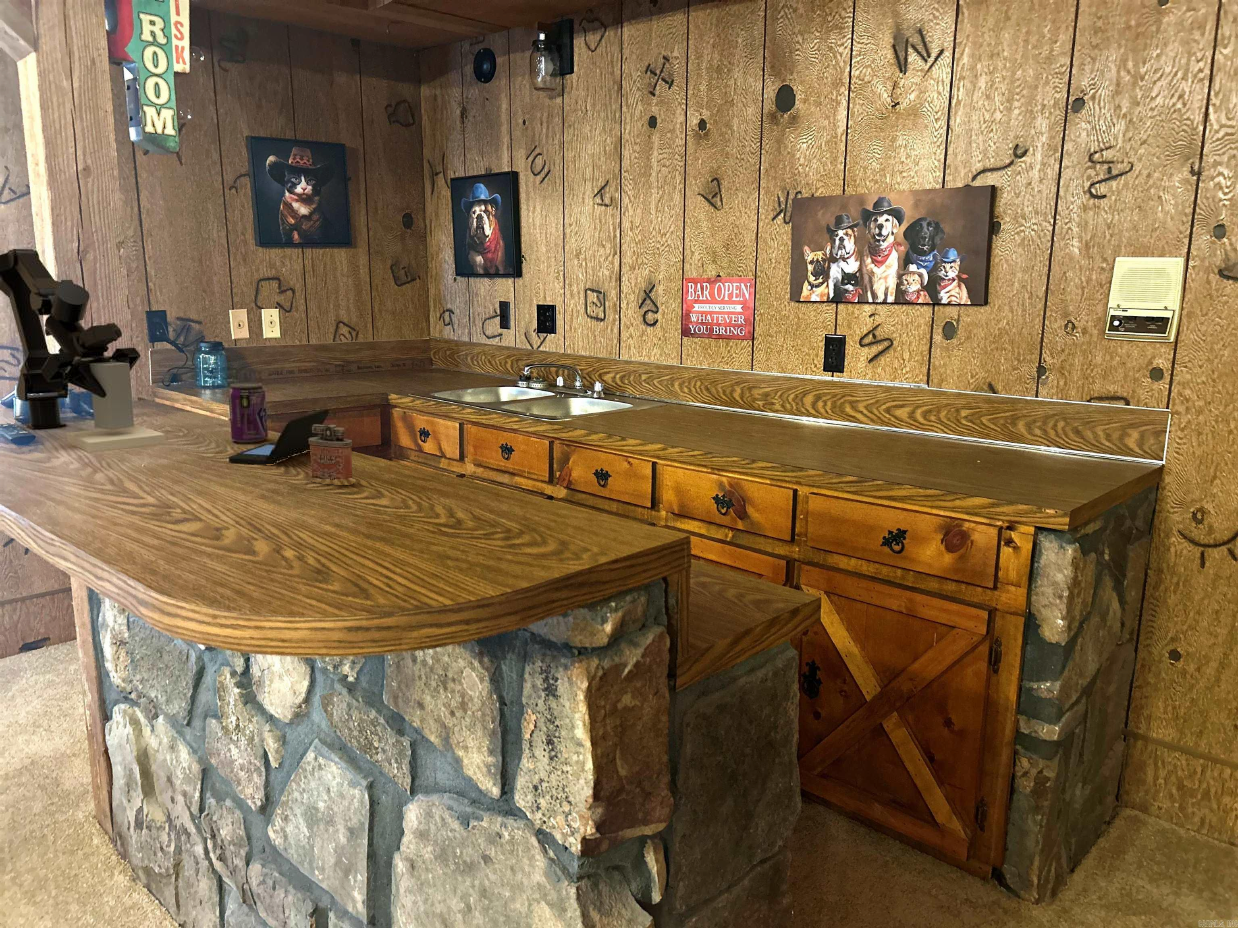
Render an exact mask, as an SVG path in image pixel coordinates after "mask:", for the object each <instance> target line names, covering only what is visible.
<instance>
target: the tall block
mask: <svg viewBox="0 0 1238 928" xmlns="http://www.w3.org/2000/svg"><path fill="white" fill-rule="evenodd" d="M90 369H91V372H92V374H93V375H94V376H95V378H96V379H97V381H98V382H99V383H100V385H101V386H102V388H103V389H104V391H105V393H106V397H105V398H101V397H99V396H97V395H95V394H93V393H91V397H92V398H91V399H92V409H93V410H92V411H93V423H94V428H95V429H108V430H116V429H122V428H129V427H134V426H135V420H134V419H135V418H134V409H133V408H134V406H133V395H132V392H133V391H132V382H131V379H132V378H131V371H130V365H129V363H120V362H102V363H90Z"/></svg>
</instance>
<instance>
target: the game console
mask: <svg viewBox="0 0 1238 928" xmlns="http://www.w3.org/2000/svg"><path fill="white" fill-rule="evenodd" d="M329 414H330V410H329V408H326V409H322V410H319V411H315V412H312V413H309V414H306V415H304V416H299V417H296V418H293V419H291V420H289V421H288V422H287V423H286V424H285V426H284V428H282V431H281V433H280V435H279V437H278V438H277V439H276V442H268V443H266V444H265V443H263V444H261V445H258V446H255V447H253V448H248V449H247V450H243V451H240V452H238V453H235V454H233V455H230V456H228V462H229V463H230V462H231V463H230V464H238V463H246V464H245V465H249V464H248V463H251V464H250V465H254V464H274V463H276V462H277V461H280V460H283V459H286V458H288V456H291V455H294V454H298V453H302V452H304V451H306V450H310V444H309V438H314V437H317V435H318V433H314V432H312V426H313V425H324V423H325V421H326V419H327V418H328V416H329ZM288 459H289V458H288Z"/></svg>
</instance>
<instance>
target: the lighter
mask: <svg viewBox="0 0 1238 928" xmlns="http://www.w3.org/2000/svg"><path fill="white" fill-rule="evenodd" d="M345 430H346V428H344V427H338V426H337V425H336V424H329V425H325V424H323V425H313V426H312V432H314V433H317V434H318V436H316V437H314V438H309V444H310V451H309V453H310V470H311V471H310V473H311V476H310V479H311V478H317V479H318V478H319V479H330V480H331V479H332V480H333V479H334V480H335V479H349V478H353V461H352V460H353V458H352V446H353V440H352V439H346V438H344V437H345V434H346V431H345Z"/></svg>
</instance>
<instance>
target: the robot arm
mask: <svg viewBox="0 0 1238 928" xmlns="http://www.w3.org/2000/svg"><path fill="white" fill-rule="evenodd" d="M0 291H1V292H2V293H3V295H5V296H6V297H7V298H8V300H9V302H10V307H11V311H12V313H13V317H14V318H13V319H14V321H15V324H16V328H17V332H18V336H19V340H20V343H21V348H22V350H23V354H24V360H23V363H22V366H21V368H20V370H19V377H18V382H17V386H16V395H17V399H18V400H19V401H21V402H24V403H26V402H27V404H28V411H29V413H28V414H29V420H30V421H29V422H27V423H25V426H26V427H29V428H30V429H33V430H39V429H49V428H60V427H66V426H67V423H65V422H63V421H61V420H62V419H61V411H60V401H59V399H68V398H69V384H71V385H73V386H75V387H78V388H80V389H83V390H84V391H87V392H89V393H91V394H92V393H93V394H95V395H97V396H99V397H101V398H105V397H106V393H105V391H104V389H103V388H102V386H101V385H100V383H99V382H98V381H97V379H96V378H95V376H94V375H93V374H92V372H91V369H90V363H102V362H120V363H129V365H130V372H131V371H132V369H133V368H134V366H135V365H136V364H137V362H138V361H139V359H140V358H141V354H140V352H139V351H138V350H137V349H136V347H130V346H129V347H119V348H118V347H117V348H115V350H114V351H113V353H112V355H111V356H109V355H105V353H107V352H108V351H109V349H110V348H109V346H108V345H110V344H111V343H113V342H116V341H118V340H119V338H121V337H122V336H123V334H122V330H121V328H120V327H119V326H118V325H117V324H116V323H115V322H108V323H106V324H99V325H98V324H97V325H93V326H90V327H87V328H85V327H84V326H83V325H82V323H81V321H83V320H84V319H85V314H86V312H87V309H88V304H89V301H90V293H89V291H88V290H86V288H85V287H83V286H81V285H79V284H76V283H74V281H73V279H61V280H60V281H58V280H56V279H55V278H54V277H53V276H52V274H51V273H50V271H49V269H47V268H46V266H45V264H44V263H43V262H42V261H41V259H40V255H39V253H38V250H35V249H32V248H30V249H29V248H12V249H9V250H7V252H5V253H2V254H0ZM40 316H47V317H46V319H45V321H44V327H45V329H44V330H43V325H42V322H41V319H40ZM45 336H46V337H49V336H52V338H53V339H54V340H55V342H56V343H57V344H58V345H59V347H60V348H59V349H58V353H57V352H56V353H54V352H53V353H51V352H50V351H49V348H48V345H47V340H46V337H45ZM28 394H29V395H28Z"/></svg>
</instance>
